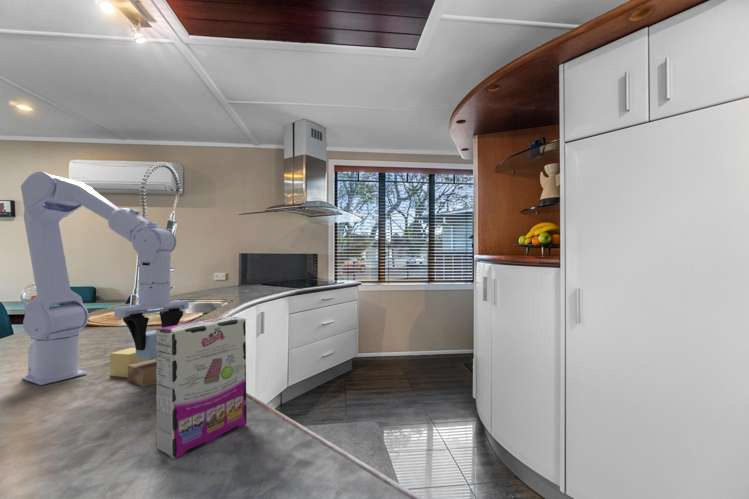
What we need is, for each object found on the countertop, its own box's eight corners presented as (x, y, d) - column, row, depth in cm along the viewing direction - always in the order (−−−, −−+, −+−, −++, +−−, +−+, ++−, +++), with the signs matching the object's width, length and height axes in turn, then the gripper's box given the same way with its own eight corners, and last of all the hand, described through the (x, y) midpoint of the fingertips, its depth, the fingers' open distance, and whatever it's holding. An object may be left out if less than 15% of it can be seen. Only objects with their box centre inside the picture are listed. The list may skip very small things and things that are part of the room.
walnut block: (127, 381, 73) (127, 365, 73) (162, 372, 79) (162, 357, 79) (142, 388, 69) (143, 370, 69) (178, 378, 75) (178, 362, 75)
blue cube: (149, 360, 71) (150, 336, 71) (135, 357, 73) (136, 333, 73) (173, 354, 75) (173, 331, 75) (159, 351, 78) (159, 329, 78)
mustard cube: (110, 376, 76) (110, 353, 77) (130, 369, 81) (130, 347, 81) (128, 377, 75) (129, 354, 75) (148, 370, 80) (148, 348, 80)
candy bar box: (227, 417, 56) (228, 315, 56) (247, 425, 53) (248, 317, 53) (152, 450, 46) (154, 326, 47) (172, 461, 44) (174, 330, 44)
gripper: (128, 286, 67) (127, 357, 66) (197, 281, 79) (196, 341, 79) (109, 285, 70) (107, 353, 69) (178, 281, 83) (177, 338, 82)
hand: (154, 346), depth 74 cm, fingers closed on blue cube, 5 cm apart
